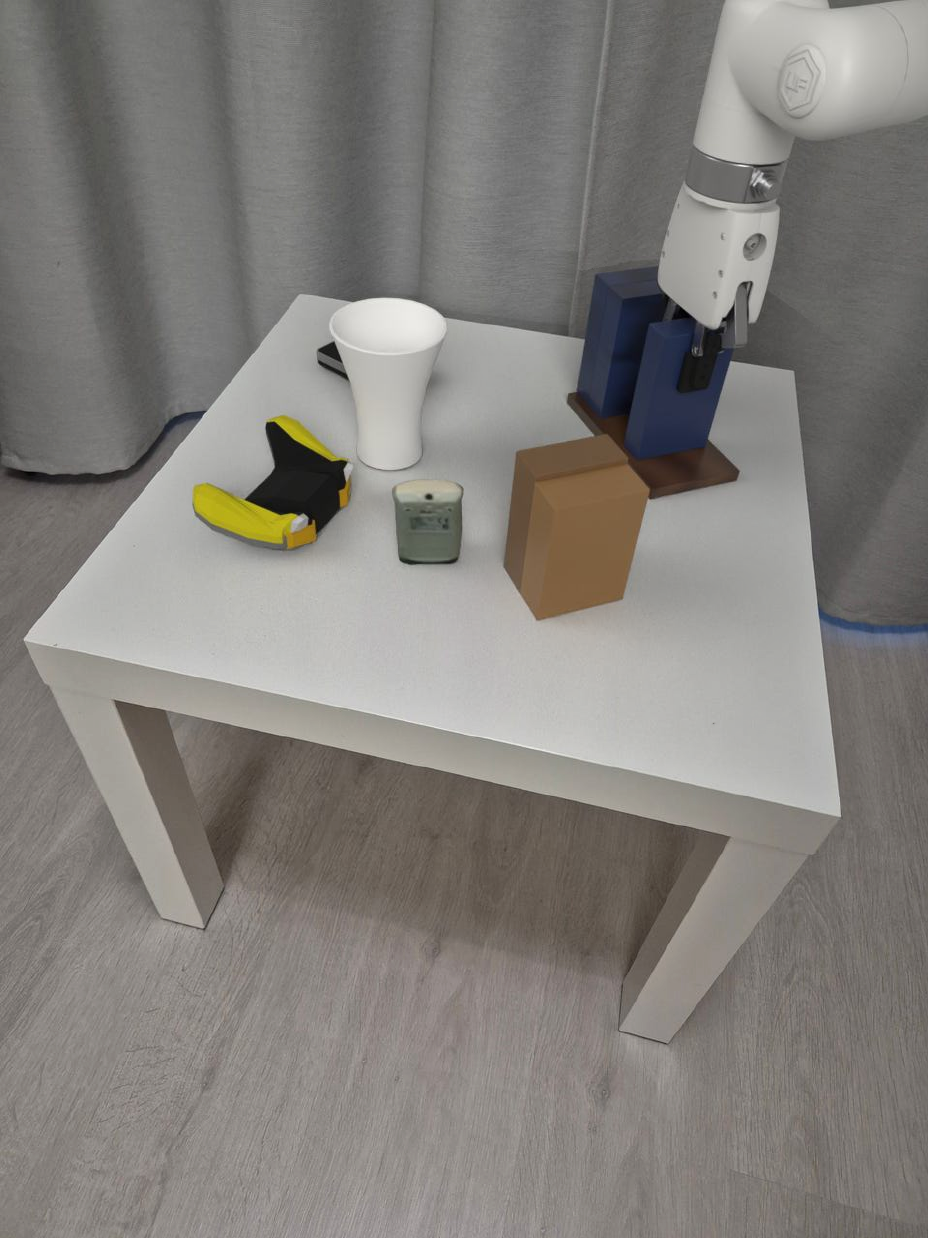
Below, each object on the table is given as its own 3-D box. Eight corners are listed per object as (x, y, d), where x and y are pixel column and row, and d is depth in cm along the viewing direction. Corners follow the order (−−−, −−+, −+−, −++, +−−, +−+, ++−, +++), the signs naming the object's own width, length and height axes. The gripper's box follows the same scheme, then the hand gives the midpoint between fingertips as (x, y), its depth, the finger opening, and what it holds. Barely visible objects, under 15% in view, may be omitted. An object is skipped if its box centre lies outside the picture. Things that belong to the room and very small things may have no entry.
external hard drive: (358, 344, 102) (358, 328, 101) (431, 379, 97) (431, 362, 96) (315, 366, 98) (314, 350, 97) (388, 403, 93) (388, 386, 92)
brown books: (585, 547, 78) (607, 433, 70) (622, 599, 74) (651, 484, 65) (503, 566, 76) (516, 450, 68) (537, 621, 72) (555, 504, 63)
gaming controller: (189, 542, 76) (288, 577, 74) (177, 491, 72) (282, 526, 70) (281, 453, 86) (372, 482, 84) (275, 404, 82) (370, 432, 80)
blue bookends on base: (646, 388, 98) (674, 263, 88) (737, 480, 87) (781, 348, 77) (566, 402, 95) (586, 274, 85) (649, 499, 84) (683, 365, 74)
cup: (449, 480, 84) (455, 351, 75) (339, 486, 83) (331, 355, 73) (435, 420, 92) (439, 295, 82) (333, 424, 90) (325, 298, 80)
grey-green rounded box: (414, 586, 74) (415, 511, 68) (381, 552, 77) (379, 477, 71) (469, 562, 76) (474, 488, 71) (435, 529, 79) (438, 455, 73)
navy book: (691, 431, 90) (723, 311, 81) (705, 446, 89) (741, 325, 79) (623, 445, 88) (648, 323, 79) (636, 460, 86) (664, 337, 77)
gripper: (837, 208, 66) (764, 419, 79) (717, 137, 76) (670, 334, 89) (754, 217, 64) (693, 433, 77) (642, 143, 74) (606, 344, 87)
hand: (681, 378), depth 83 cm, fingers open, 3 cm apart
